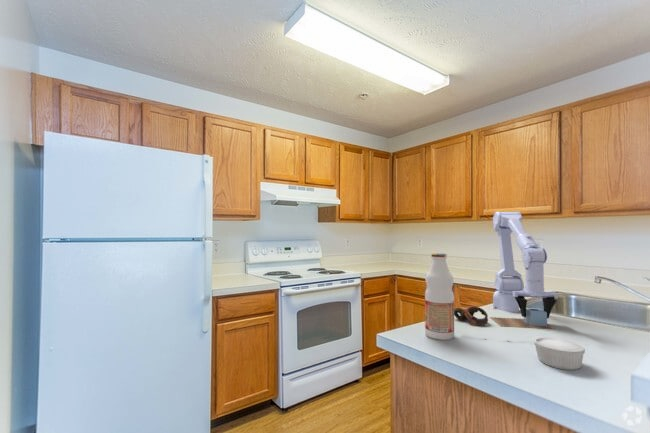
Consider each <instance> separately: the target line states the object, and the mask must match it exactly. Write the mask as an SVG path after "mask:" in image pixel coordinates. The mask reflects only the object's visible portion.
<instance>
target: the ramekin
mask: <svg viewBox="0 0 650 433" xmlns="http://www.w3.org/2000/svg"><path fill="white" fill-rule="evenodd" d="M534 345H535V350H536V354H537V358H538V360H539V361H540V362H541V363H543V365H547V366H549V367H553V368H557V369H560V370H571V371H573V370H579V369H580V368H581V367H582V365H583V359H584V354H585V353H586V352H585V350H586V349H585V347H583V345H581V344H579V343H576V342H574V341H571V340H568V339H561V338H558V337H557V338H556V337H537V338H535V339H534Z"/></svg>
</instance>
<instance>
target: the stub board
mask: <svg viewBox="0 0 650 433" xmlns="http://www.w3.org/2000/svg"><path fill="white" fill-rule="evenodd" d="M489 319H491V320H492V321H493V322H494V323H496V324H497V326H500V328H503V327H504V328H520V329H521V328H523V329H541V330H542V329H543V330H556V328H555V327H553V326H551V325H549V324H548V323H547V326H531V325H529V324H528V323H526V322H525V321H524V318H515V317H514V318H513V317H511V318H510V317H509V318H508V317H496V316H494V317H493V316H491V317H489Z"/></svg>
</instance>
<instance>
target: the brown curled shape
mask: <svg viewBox="0 0 650 433" xmlns="http://www.w3.org/2000/svg"><path fill="white" fill-rule="evenodd" d="M478 312H480V313H481V315H482V316H484V317H483V318H478V317H476V316H474V315H475V313H478ZM488 317H489V316H488V313H487V312H486V311H485V310H484V309H483V308H482V307H478V306H475V305H474V306H473V305H471V306H468V307H466V308H465V309H463V308H460V307H456V308H454V318H456V319H457V320H458V321H460V322H462V321H463V320H467V319H468V321H469V322H470V324H469V325H470V326H474V327H484V326H486V325H487V324H488V322H489V318H488Z"/></svg>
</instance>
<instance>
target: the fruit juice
mask: <svg viewBox="0 0 650 433" xmlns="http://www.w3.org/2000/svg"><path fill="white" fill-rule="evenodd" d="M447 256H448V255H447V253H443V252H433V253H431V258H432V260H431V264H430V267H429V269H428V272H427V273H426V274H425V279H424V280H425V284H426V289H425V292H424V327H425V328H424V331H425V335H426V336H427V337H428V338H431V339H435V340H441V341H447V340H452V339H454V337H455V315H454V310H455V294H454V291H453V286H454V277H453V274H452V273H451V271H450V269H449V267H448V263H447Z"/></svg>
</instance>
